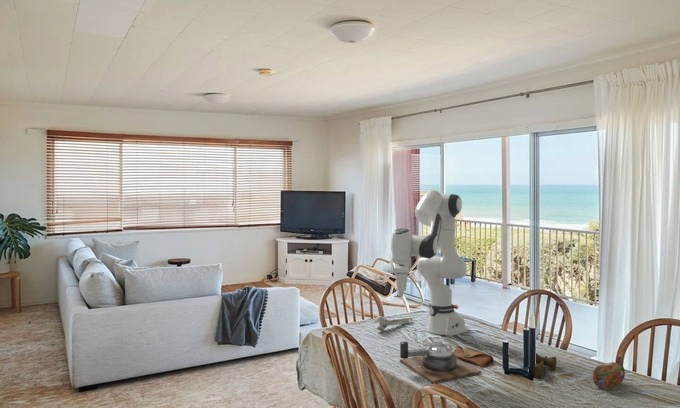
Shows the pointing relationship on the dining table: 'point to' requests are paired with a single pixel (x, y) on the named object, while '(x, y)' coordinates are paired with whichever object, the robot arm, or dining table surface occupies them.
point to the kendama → (540, 365)
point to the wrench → (390, 322)
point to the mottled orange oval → (608, 375)
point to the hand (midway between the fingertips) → (400, 296)
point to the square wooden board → (439, 368)
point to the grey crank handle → (428, 351)
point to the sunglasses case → (473, 357)
